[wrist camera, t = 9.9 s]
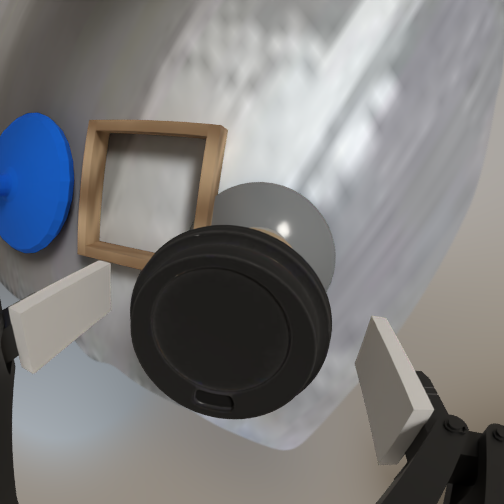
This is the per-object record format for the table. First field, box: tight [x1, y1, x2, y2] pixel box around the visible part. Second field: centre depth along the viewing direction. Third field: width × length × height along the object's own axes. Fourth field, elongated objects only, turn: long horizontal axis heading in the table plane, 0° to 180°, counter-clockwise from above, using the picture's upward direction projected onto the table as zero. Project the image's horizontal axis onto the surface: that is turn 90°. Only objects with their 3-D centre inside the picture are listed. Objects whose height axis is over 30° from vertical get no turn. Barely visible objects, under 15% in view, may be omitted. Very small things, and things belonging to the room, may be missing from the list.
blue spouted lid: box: [0, 113, 74, 253], centre depth 25 cm, size 16×16×7 cm
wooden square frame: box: [78, 120, 228, 270], centre depth 26 cm, size 13×13×2 cm
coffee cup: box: [130, 225, 332, 419], centre depth 19 cm, size 9×9×15 cm
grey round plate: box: [190, 182, 335, 292], centre depth 27 cm, size 13×13×1 cm
